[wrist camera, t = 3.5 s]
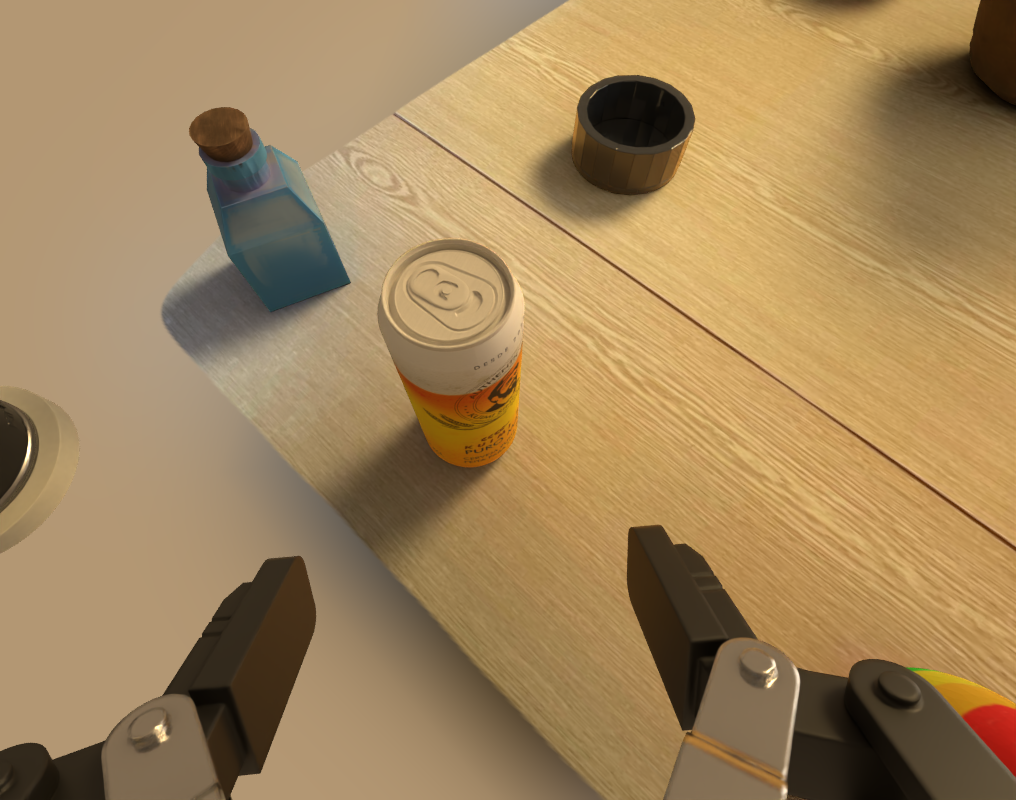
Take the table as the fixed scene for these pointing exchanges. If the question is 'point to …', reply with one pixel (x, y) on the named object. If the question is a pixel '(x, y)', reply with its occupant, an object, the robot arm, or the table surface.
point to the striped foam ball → (980, 712)
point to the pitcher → (996, 47)
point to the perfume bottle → (265, 212)
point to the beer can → (457, 345)
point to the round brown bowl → (631, 133)
